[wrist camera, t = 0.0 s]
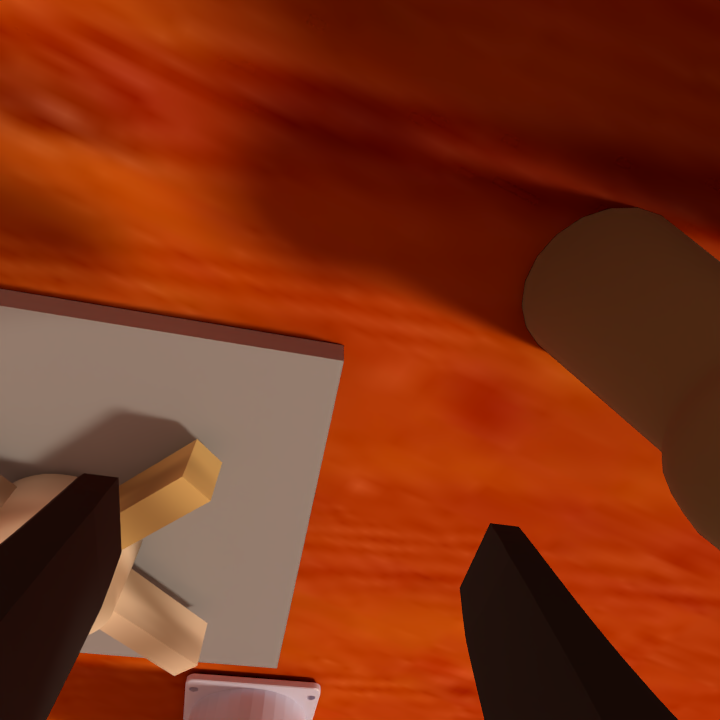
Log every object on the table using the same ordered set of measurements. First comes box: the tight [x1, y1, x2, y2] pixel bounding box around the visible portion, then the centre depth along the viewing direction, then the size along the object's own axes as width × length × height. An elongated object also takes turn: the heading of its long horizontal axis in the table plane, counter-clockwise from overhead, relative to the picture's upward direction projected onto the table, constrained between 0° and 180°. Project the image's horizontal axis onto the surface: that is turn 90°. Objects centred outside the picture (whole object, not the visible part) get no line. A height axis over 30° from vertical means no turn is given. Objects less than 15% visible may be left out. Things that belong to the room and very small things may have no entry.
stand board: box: [0, 289, 344, 668], centre depth 22 cm, size 20×20×2 cm
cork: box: [522, 208, 720, 550], centre depth 14 cm, size 6×6×11 cm
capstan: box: [0, 439, 222, 676], centre depth 20 cm, size 12×12×4 cm
